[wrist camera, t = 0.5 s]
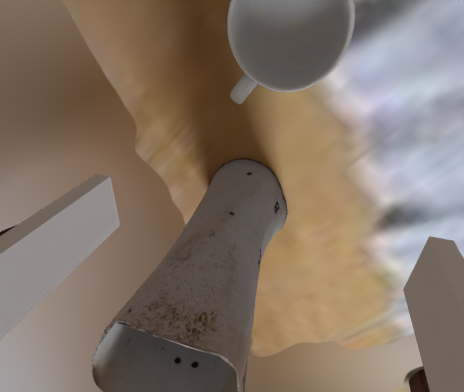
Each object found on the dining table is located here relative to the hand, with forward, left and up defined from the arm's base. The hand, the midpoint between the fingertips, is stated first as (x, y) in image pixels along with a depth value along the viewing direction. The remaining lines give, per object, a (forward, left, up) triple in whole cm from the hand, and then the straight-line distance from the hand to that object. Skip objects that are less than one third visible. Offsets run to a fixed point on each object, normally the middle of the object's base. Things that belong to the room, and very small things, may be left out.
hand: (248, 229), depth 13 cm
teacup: (-6, -3, -27) cm, 28 cm away
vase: (+15, -5, -27) cm, 32 cm away
